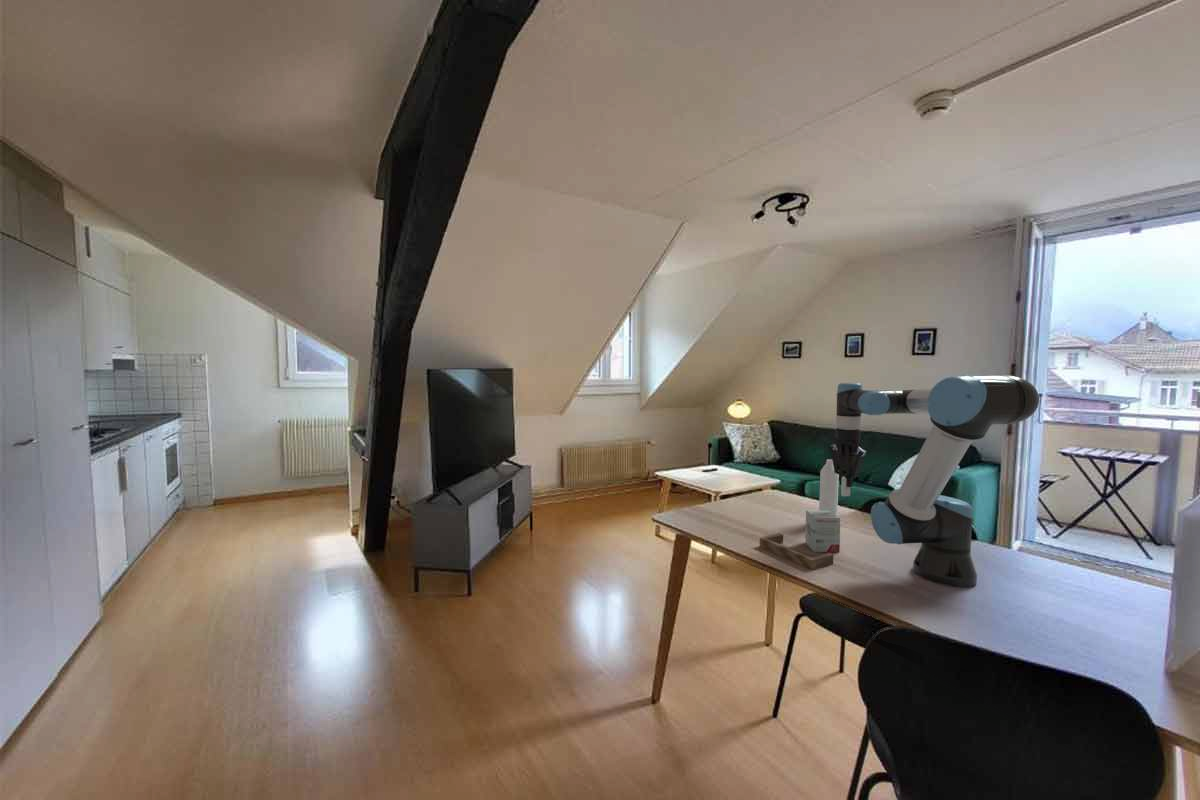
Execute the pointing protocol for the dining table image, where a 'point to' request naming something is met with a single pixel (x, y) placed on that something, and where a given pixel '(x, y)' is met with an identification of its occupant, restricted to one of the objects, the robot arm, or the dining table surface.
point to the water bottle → (828, 488)
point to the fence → (794, 553)
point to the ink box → (822, 531)
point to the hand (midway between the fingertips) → (845, 495)
